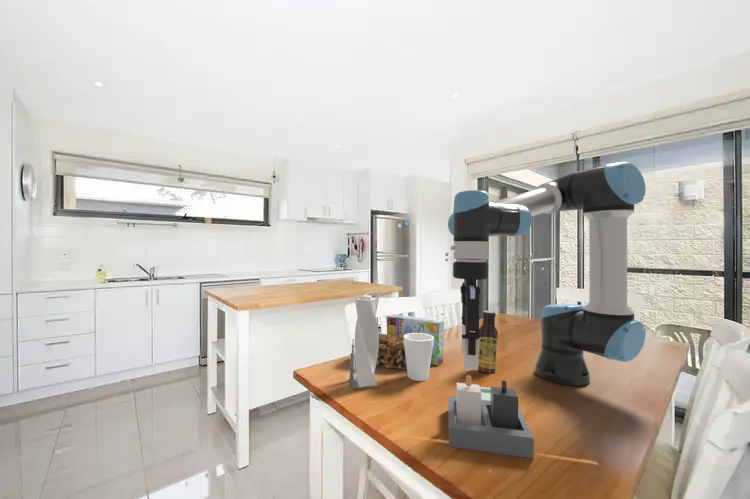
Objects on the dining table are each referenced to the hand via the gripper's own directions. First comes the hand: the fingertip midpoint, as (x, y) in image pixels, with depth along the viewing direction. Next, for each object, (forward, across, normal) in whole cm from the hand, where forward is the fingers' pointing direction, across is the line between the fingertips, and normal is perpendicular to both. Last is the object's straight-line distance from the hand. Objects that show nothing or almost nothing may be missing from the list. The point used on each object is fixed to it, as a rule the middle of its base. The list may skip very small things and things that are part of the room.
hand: (469, 360), depth 70 cm
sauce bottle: (+16, -38, +9) cm, 42 cm away
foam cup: (+16, -26, -13) cm, 33 cm away
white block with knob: (+15, 0, 0) cm, 15 cm away
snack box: (+16, -44, -16) cm, 50 cm away
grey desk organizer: (+16, 0, +4) cm, 16 cm away
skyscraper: (+16, -18, -28) cm, 37 cm away
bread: (+16, -37, -26) cm, 48 cm away
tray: (+16, -14, +4) cm, 22 cm away
